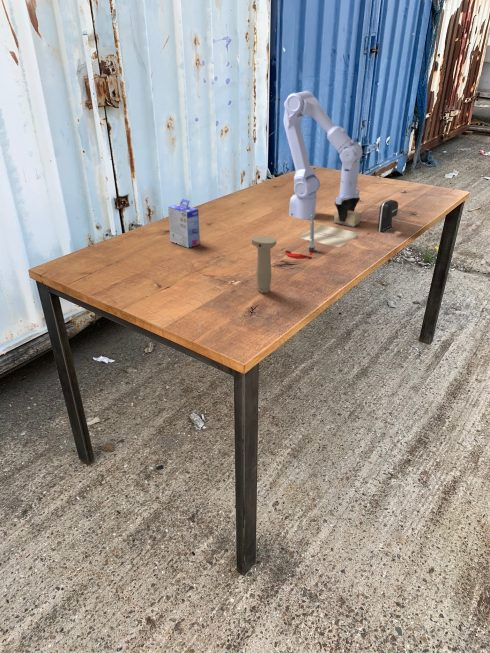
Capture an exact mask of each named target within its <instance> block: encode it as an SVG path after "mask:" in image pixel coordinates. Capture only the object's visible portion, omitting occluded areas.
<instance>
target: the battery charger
mask: <svg viewBox="0 0 490 653" xmlns="http://www.w3.org/2000/svg"><path fill="white" fill-rule="evenodd" d="M398 210H399V202H398V201H397V200H394V199H390V198H389V199H387V200H384V201H383V202H382V203H381V204H380V207H379V213H378V221H377V222H378V223H377V224H378V226H377V232H379V233H382V234H384V233H386V232H388V231H390V230H391V229H393V226H392V224H393V222H392V221H393V218H394V217H395V216H398Z"/></svg>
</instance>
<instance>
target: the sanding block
mask: <svg viewBox="0 0 490 653" xmlns="http://www.w3.org/2000/svg"><path fill="white" fill-rule="evenodd" d="M361 213H362V212H360V211H359V212H358V211H355V210H354V211H350V210H348V213H347V218H346V221H345V222H343V221H340V220H339V215H338V210H337V209H336V211H334V214H333V216H334V217H333V223H335V224H339V225H342V226H348V227H353V228H354V227H356V226H358V225H359V224H360V223H361V222H360V221H361V215H362V214H361Z"/></svg>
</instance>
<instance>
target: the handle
mask: <svg viewBox="0 0 490 653" xmlns="http://www.w3.org/2000/svg"><path fill="white" fill-rule="evenodd" d="M251 244H252V245H253V246H255V247H256V249H257V258H256V259H257V262H256V283H257V291H258V292H259V293H261V294H268V293H269V292H270V290H271V282H272V262H271V260H272V258H271V255H272V254H271V249H272V248H274V247H275V246H276V245H277V239H276V238H275V237H272V236H266V235H255V236H254V237H252V238H251Z"/></svg>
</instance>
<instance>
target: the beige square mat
mask: <svg viewBox="0 0 490 653" xmlns="http://www.w3.org/2000/svg"><path fill="white" fill-rule="evenodd" d="M359 235H361V232H356V231H352V230H348V229H343V228H339V227H334V226H328V225H323V224H319V225H317V226H314V239H315V243H319V244H323V245H328V246H330V247H331V246H332V247H336V248H340V247H342V246H343V245H345V244H346V243H348V242H349V241H351V240H352V239H354V238H356V237H357V236H359ZM296 238H297V239H300V240H301V239H302V240H305V241H309V242H310V229H309V230H308V231H306V232H304V233H302V234H300V235H299V236H297V237H296Z"/></svg>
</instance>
